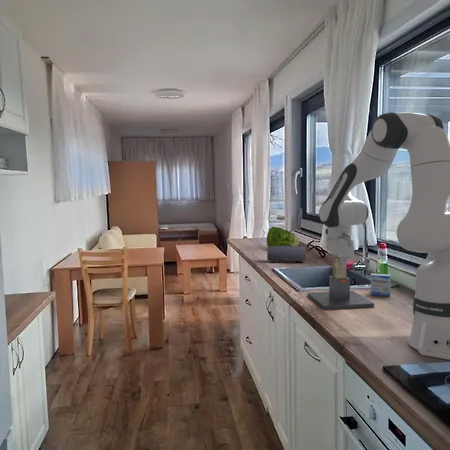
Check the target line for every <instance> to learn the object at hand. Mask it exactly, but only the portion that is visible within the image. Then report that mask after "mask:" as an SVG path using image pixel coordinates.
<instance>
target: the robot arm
mask: <svg viewBox="0 0 450 450" xmlns="http://www.w3.org/2000/svg"><path fill="white" fill-rule="evenodd" d="M371 126H372V127H371V129H370V131H369V133H368V135H367V137H366V139H365V141H364V143H363V145H362V148H361V150H360V152H359V153H358V154H357V156H356V158H354V160H353V161H352V162H350V163H349V164H348V165H346V167H344V169H343V171H342V172H341V174H340V175H339V177H338V179H337V181H336V182H335V184H334V185H333V188H332V190H331V191H330V193H329V194H328V196H327V198H326V199H325V200H324V201H323V202H322V204H321V205H320V208H319V211H318V219H319V220H320V222H321V223H322V224H323V225H324V226H325V227H326V228H325V229H324V234H325V235H326V236H325V244H326V245H325V247H326V251H327V252H329V253H332V258H333V257H341V263H340V267H342V268H345V267H346V268H347V261H348V259H353V258H354V257H355V245H354V244H355V243H354V239H353V238H352V226H360V225H363V224H365V223H366V222H367V220H368V218H369V208H368V205H367V204H366V202H365V201H363V200H359V199H358V198H355V196H353V195H352V193H351V190H352V189H354V188H355V187H356V186H357V185H358V186H359V185H360V184H362V183H365V182H367V181H371V180H374V179H378V178H380V177H383V176H384V175H385V174H386V173H387V172H388V171H389V170H390V168H391V166H392V164H393V162H394V159H395V157H396V155H397V152H398V150H401V149H402V150H406V151H407V152H408V154H409V163H410V174H411V177H410V178H411V189H412V191H411V192H412V195H411V200H410V205H409V207H408V210H407V213H406V214H405V216H404V217H403V218H402V220H400V221H399V222H398V224H397V228H396V238H397V241H398V244H399V245H400V246H401V247H402V248H403V250H406V251H409V252H414V253H419V254H420V253H421V254H425V253H426V254H427V253H428V254H427V255H426V258H425V260H424V261H423V263H422V264H421V265H419V266H418V268H417V269H416V272H415V290H414V291H415V292H414V293H415V295H414V296H413V299H412V300H413V301H412V311H413V312H412V314H413V321H412V325H411V326H412V327H411V331H410V334H409V337H408V340H407V343H408V345H409V346H410V347H411V348H413V349H415V350H417V351H418V353H419V354H420V355H422V356H426V357H432V358H437V359H444V360H448V361H450V212H446V204H447V201H448V199H449V197H450V141H449V137H448V134H447V132H446V131H445V129H444V123H443V122H442V120H441V118H439V117H438V116H436V115H434V114H430V113H416V112H411V111H404V112H403V111H401V112H393V111H391V112H390V111H389V112H386V113H383V114H382V113H381V114H380V115H378V116H377V117H376V118H375V119H374V122H373V123H372V125H371Z"/></svg>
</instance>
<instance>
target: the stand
mask: <svg viewBox="0 0 450 450" xmlns="http://www.w3.org/2000/svg"><path fill="white" fill-rule="evenodd" d="M328 278H329V280H328V281H329V282H328V289H329V290H328V291H318V292H317V291H314V292H313V291H312V292H307V297H308V298H310V300H312V301H313V302H314V303H315V304H316V305H318V307H320V308H321V309H322V310H324V311H326V310H327V311H328V310H346V309H363V308H365V309H366V308H375V303H374V302H373V301H372V300H369V299H368V298H366V297H365V296H363V295H361V294H359V293H357V292H356V291H354V290H351V278H350V277H348V276H346V278H339V279H336V278H334V277H333V275H329V277H328Z"/></svg>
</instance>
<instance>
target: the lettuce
mask: <svg viewBox="0 0 450 450" xmlns="http://www.w3.org/2000/svg"><path fill="white" fill-rule="evenodd" d="M299 244H300V239H299V237H298V236H297V235H295V234H294V233H292V232H291V231H289V230H287V229H284V228H282V227H277V226H271V227H270V228H269V229H268V231H267V235H266V246H267V248H268V247H270V246H299Z"/></svg>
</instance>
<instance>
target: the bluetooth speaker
mask: <svg viewBox="0 0 450 450" xmlns="http://www.w3.org/2000/svg"><path fill="white" fill-rule="evenodd" d="M266 248H267V253H266V257H267V258H266V259H267V261H273V262H277V263H283V264H284V263H285V264H287V263H288V264H291V263H293V264H294V263H296V262H305V261H306V259H307V257H306V256H307V255H306V248H307V247H305V246H299V245H298V246H270V247H268V246H267V247H266Z"/></svg>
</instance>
